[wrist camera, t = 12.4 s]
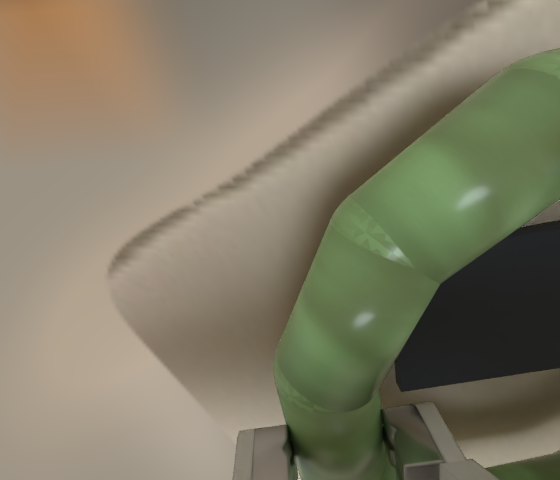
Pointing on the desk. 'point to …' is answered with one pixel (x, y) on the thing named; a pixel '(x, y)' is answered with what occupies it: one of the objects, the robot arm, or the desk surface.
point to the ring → (413, 265)
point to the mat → (490, 316)
